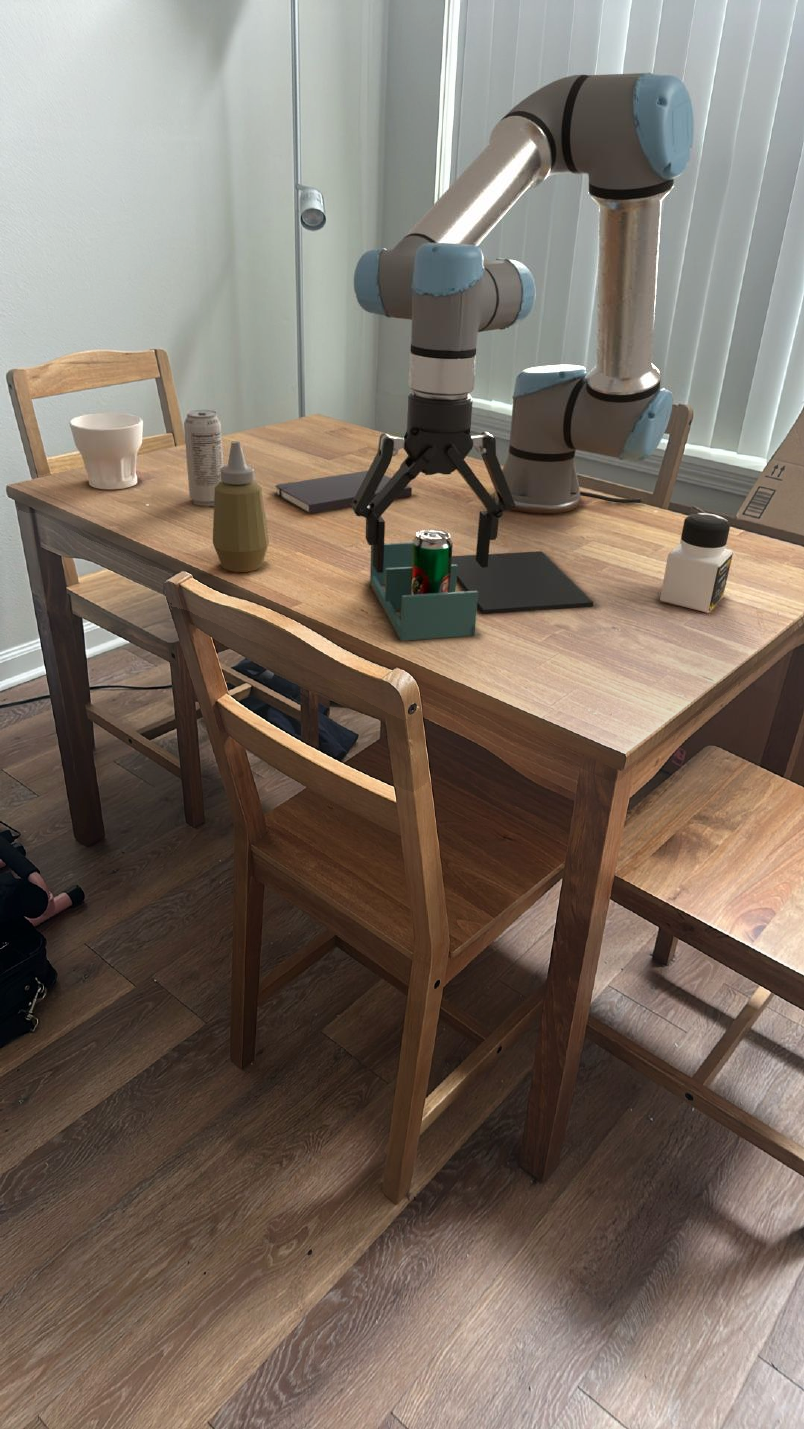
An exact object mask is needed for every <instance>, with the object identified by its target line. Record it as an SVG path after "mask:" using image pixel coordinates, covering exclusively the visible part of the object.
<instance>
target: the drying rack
mask: <svg viewBox="0 0 804 1429" xmlns="http://www.w3.org/2000/svg"><path fill="white" fill-rule="evenodd" d="M412 542H413V541H408V542H406V541H405V542H388V543H387V542H386V543H385V542H384V567H383V573H377V571H376V570H375V568H374V566H373V545H370V570H369V571H370V573H369V584H370V587H371V588H372V590H373V592H374V594H375V596H376V598H377V599H378V601H379V603H380V605H381V607H382V609H383V611H384V612H385V614H386V616H387V618H388V620H389V622H390V623H391V626H392V627H393V629H394V630H395V632H396V635H397V636H398V639H399V640H400V641H401V642H405V641H406V642H407V641H421V640H433V639H446V638H447V639H448V638H459V637H460V638H461V637H474V636H475V635H476V623H477V612H478V606H477V599H478V592H477V591H466V590H463V591H456V590H457V579H456V578H457V565H456V564H452V565H451V579H450V592H447V593H431V594H415V595H410V587H411V563H412ZM382 586H384V589H383V587H382ZM399 611H400V617H399V615H398V614H397V612H399Z"/></svg>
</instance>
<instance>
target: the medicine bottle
mask: <svg viewBox="0 0 804 1429" xmlns="http://www.w3.org/2000/svg"><path fill="white" fill-rule="evenodd" d="M730 530H731V524H730V521H728V520H727V519H726V518H724V517H722V516H720V515H717V514H713V513H707V512H698V513H692V514H690V515H688V516H686V517H685V518H684V520H683V525H682V531H681V536H680V541H679V544H678V545H677V546H676V547H675V548H673V549H672V550H671V551H670V552H669V553H668V555H667V559H666V565H665V570H664V575H663V579H662V586H661V592H660V596H659V601H660V602H661V603H662V602H663V603H667V604H670V605H674V606H678V607H682V608H687V609H691V610H693V611H694V610H695V611H699V612H703V613H707V614H708V613H710V612H711V611H712V610H713V609H714V608H715V607H716V606H717V605H718V603H719V602H720V601H721V600H722V599H723V597H724V594H725V591H726V585H727V581H728V578H729V573H730V568H731V564H732V560H733V555H734V551H733V550H732V549H728V548H726V547H727V543H728V539H729V534H730Z"/></svg>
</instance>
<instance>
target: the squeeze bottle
mask: <svg viewBox="0 0 804 1429" xmlns="http://www.w3.org/2000/svg"><path fill="white" fill-rule="evenodd" d="M220 473H221V482H220V483H218V484H217V485H216V486H215V493H214V506H213V518H212V519H213V520H212V522H213V523H212V545H213V548H214V550H215V552H216V555H217V557H218V559H219V562H220V564H221V567H222V568H223V569H225V570H226V571H230V572H235V573H246V572H247V573H248V572H253V571H257V570H258V569H260V568H262V566H263V564H264V560H265V557H266V554H267V551H268V548H269V545H270V539H269V531H268V525H267V518H266V512H265V504H264V503H265V502H264V496H263V490H262V486H261V485H260V484H259V483H258V482H257V481H255V469H254V467H253V466H251V465H247V464H246V459H245V456H244V452H243V448H242V444H241V442H240V441H238V440H233V441H231V443H230V449H229V455H228V461H227V464H226V465H223V467H222V468H221V469H220Z"/></svg>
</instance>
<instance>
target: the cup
mask: <svg viewBox="0 0 804 1429" xmlns="http://www.w3.org/2000/svg"><path fill="white" fill-rule="evenodd" d="M68 423H69V428H70V431H71V435H72V438H73V441H74V446H75V447H76V449H77V451H78V452H79V453H80V455H81V458H82V460H83V464H84V467H85V468H84V469H85V471H86V474H87V476H88V484H89V486H90V487H92V488H94V489H97V490H102V491H103V490H105V491H107V490H108V491H112V490H113V491H116V490H124V489H128V488H131V487H133V486H135V485H137V483H138V476H137V472H136V470H137V456H138V452H139V450H140V448H141V446H142V444H143V430H144V428H143V427H144V421H143V419H142V418H141V417H140V416H137V415H134V414H129V413H122V412H97V413H88V414H82V415H79V416H75V417H73V418H72V419H70V420H69V421H68Z"/></svg>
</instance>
